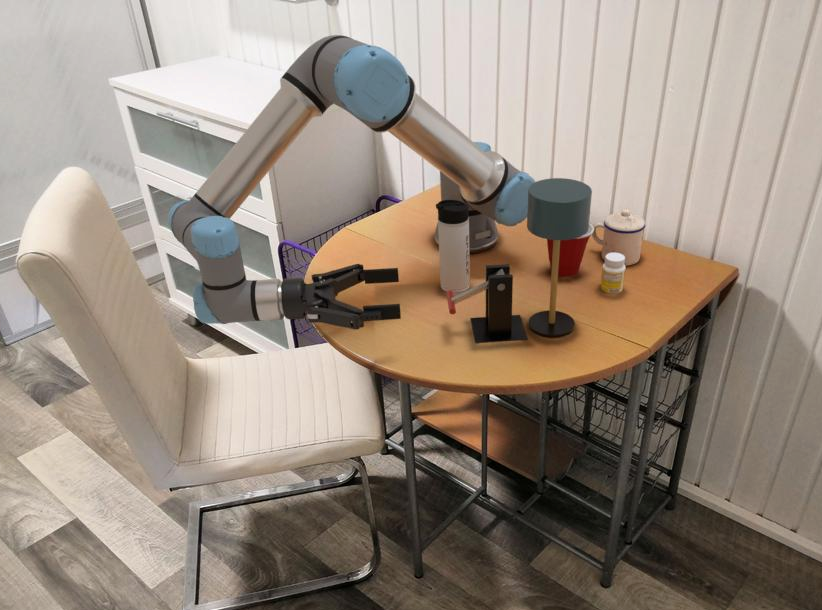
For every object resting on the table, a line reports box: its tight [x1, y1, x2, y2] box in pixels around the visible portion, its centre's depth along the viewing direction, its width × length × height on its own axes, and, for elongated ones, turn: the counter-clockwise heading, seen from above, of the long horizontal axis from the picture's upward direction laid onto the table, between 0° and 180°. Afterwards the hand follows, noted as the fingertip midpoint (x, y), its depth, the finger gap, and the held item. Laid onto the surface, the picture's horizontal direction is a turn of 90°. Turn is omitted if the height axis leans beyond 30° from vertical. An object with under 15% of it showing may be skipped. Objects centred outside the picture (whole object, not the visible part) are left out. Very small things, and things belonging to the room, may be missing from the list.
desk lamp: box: [526, 177, 593, 339], centre depth 137 cm, size 11×11×29 cm
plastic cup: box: [546, 222, 594, 278], centre depth 160 cm, size 11×11×12 cm
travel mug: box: [435, 200, 471, 294], centre depth 153 cm, size 6×7×20 cm
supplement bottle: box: [600, 253, 627, 294], centre depth 154 cm, size 5×5×8 cm
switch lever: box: [446, 269, 505, 315], centre depth 138 cm, size 12×7×2 cm, turn 95°
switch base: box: [470, 263, 528, 344], centre depth 140 cm, size 10×9×14 cm
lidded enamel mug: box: [591, 208, 646, 267], centre depth 167 cm, size 12×9×12 cm
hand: (399, 292), depth 137 cm, fingers open, 13 cm apart
